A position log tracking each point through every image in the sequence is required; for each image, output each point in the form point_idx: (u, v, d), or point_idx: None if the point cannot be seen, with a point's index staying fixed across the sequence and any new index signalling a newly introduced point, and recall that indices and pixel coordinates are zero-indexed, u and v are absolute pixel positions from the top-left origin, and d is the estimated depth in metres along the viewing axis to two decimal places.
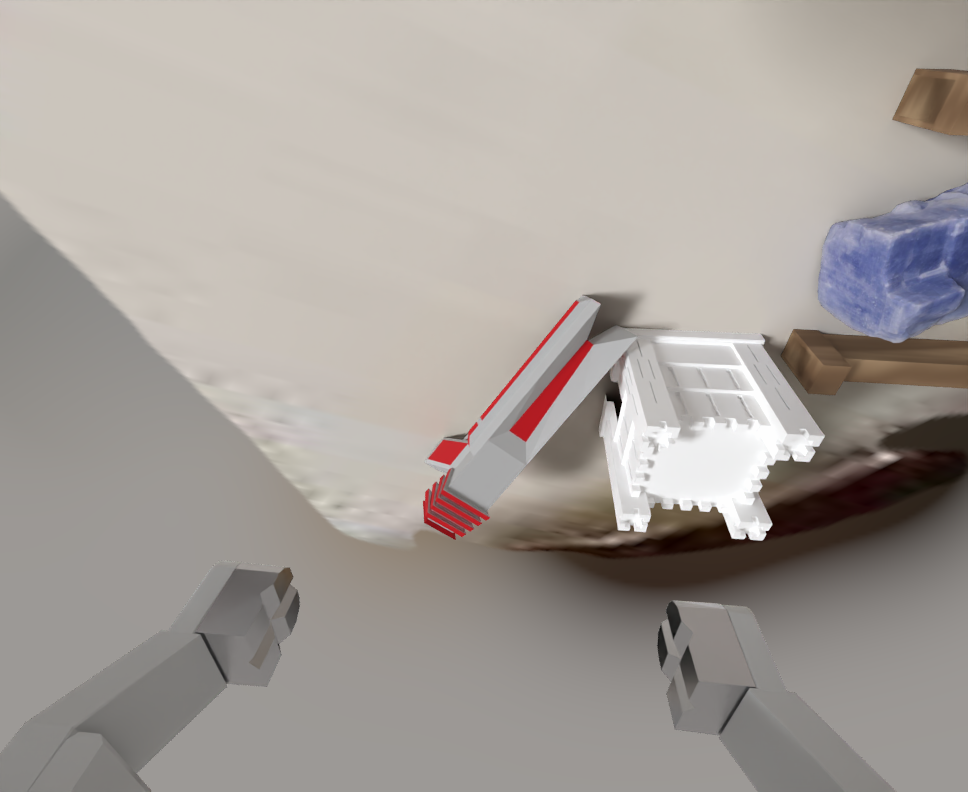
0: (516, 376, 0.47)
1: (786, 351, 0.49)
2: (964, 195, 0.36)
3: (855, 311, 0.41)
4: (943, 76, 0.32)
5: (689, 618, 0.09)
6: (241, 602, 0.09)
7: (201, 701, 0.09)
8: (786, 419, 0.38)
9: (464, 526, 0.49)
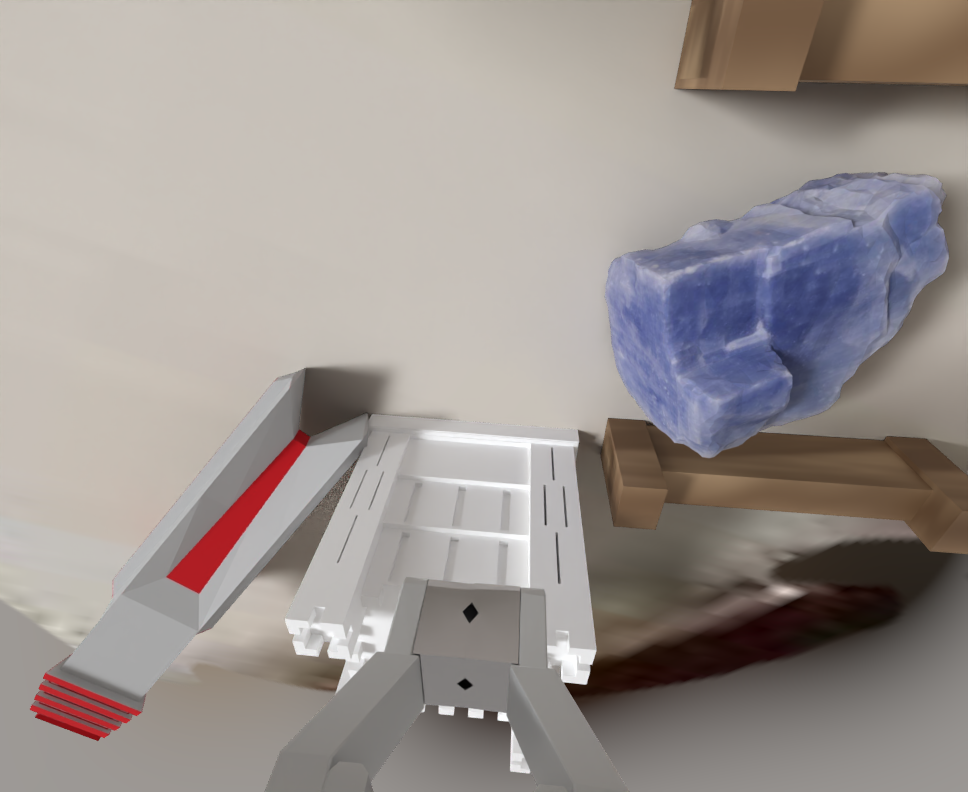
0: (185, 490, 0.30)
1: (603, 450, 0.32)
2: (785, 208, 0.20)
3: (650, 399, 0.25)
4: None
5: (481, 599, 0.09)
6: (447, 621, 0.09)
7: (407, 723, 0.09)
8: None
9: (102, 724, 0.31)
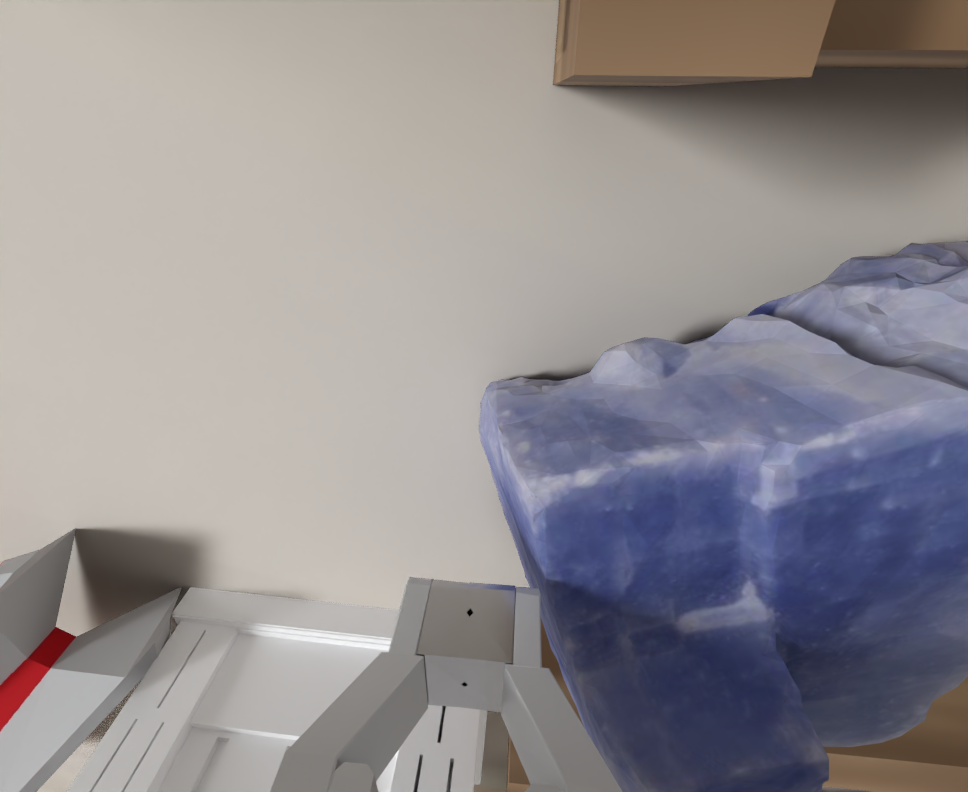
0: None
1: None
2: (802, 334, 0.09)
3: (552, 649, 0.13)
4: None
5: (475, 599, 0.09)
6: (451, 621, 0.09)
7: (412, 723, 0.09)
8: None
9: None
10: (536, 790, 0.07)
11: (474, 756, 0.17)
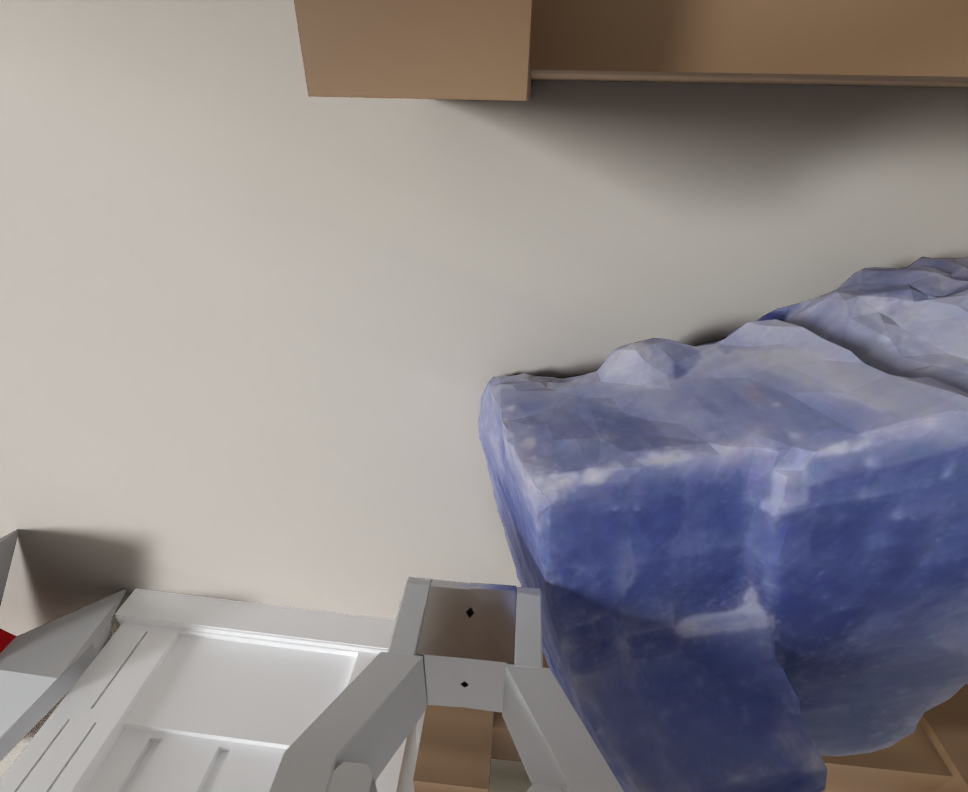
0: None
1: None
2: (815, 341, 0.09)
3: (543, 650, 0.13)
4: None
5: (477, 599, 0.09)
6: (450, 621, 0.09)
7: (411, 724, 0.09)
8: None
9: None
10: (538, 790, 0.07)
11: (401, 758, 0.17)
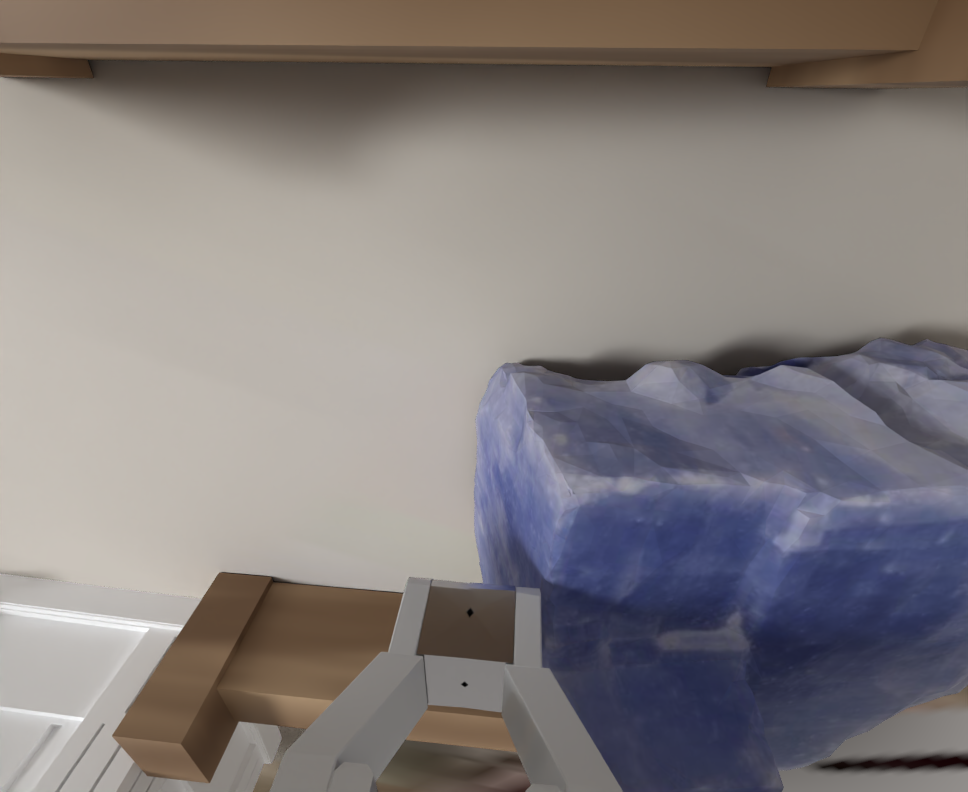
0: None
1: None
2: (844, 396, 0.10)
3: None
4: None
5: (476, 599, 0.09)
6: (451, 622, 0.09)
7: (411, 724, 0.09)
8: None
9: None
10: (537, 790, 0.07)
11: None
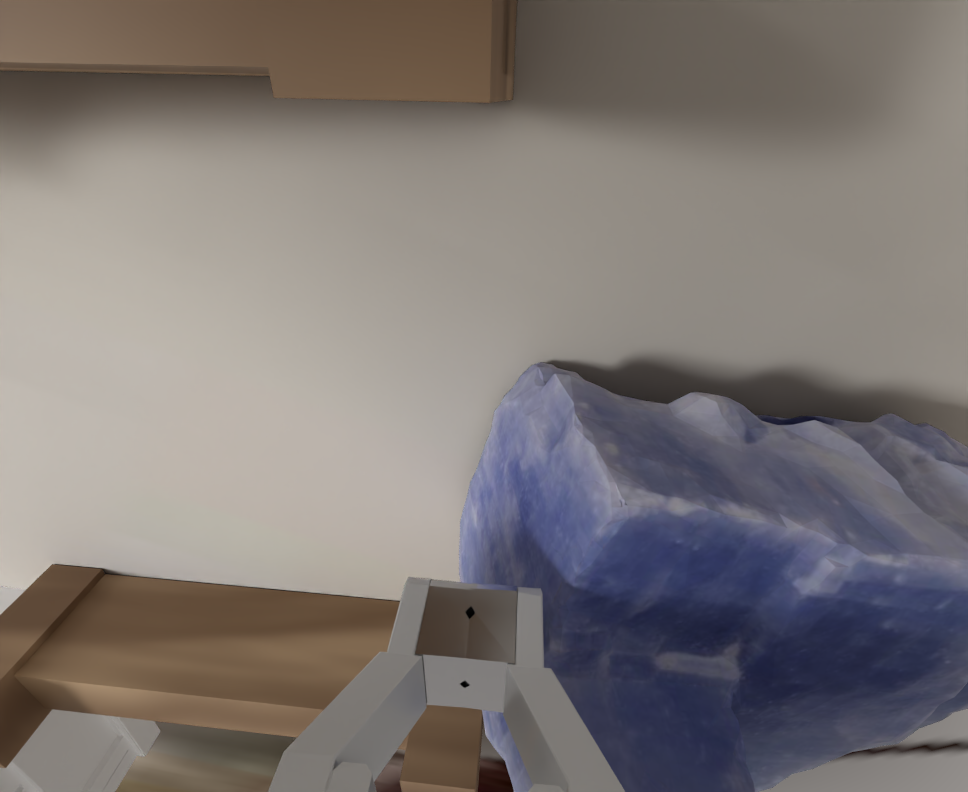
0: None
1: None
2: (869, 460, 0.10)
3: None
4: None
5: (477, 599, 0.09)
6: (449, 621, 0.09)
7: (410, 723, 0.09)
8: None
9: None
10: (539, 790, 0.07)
11: None
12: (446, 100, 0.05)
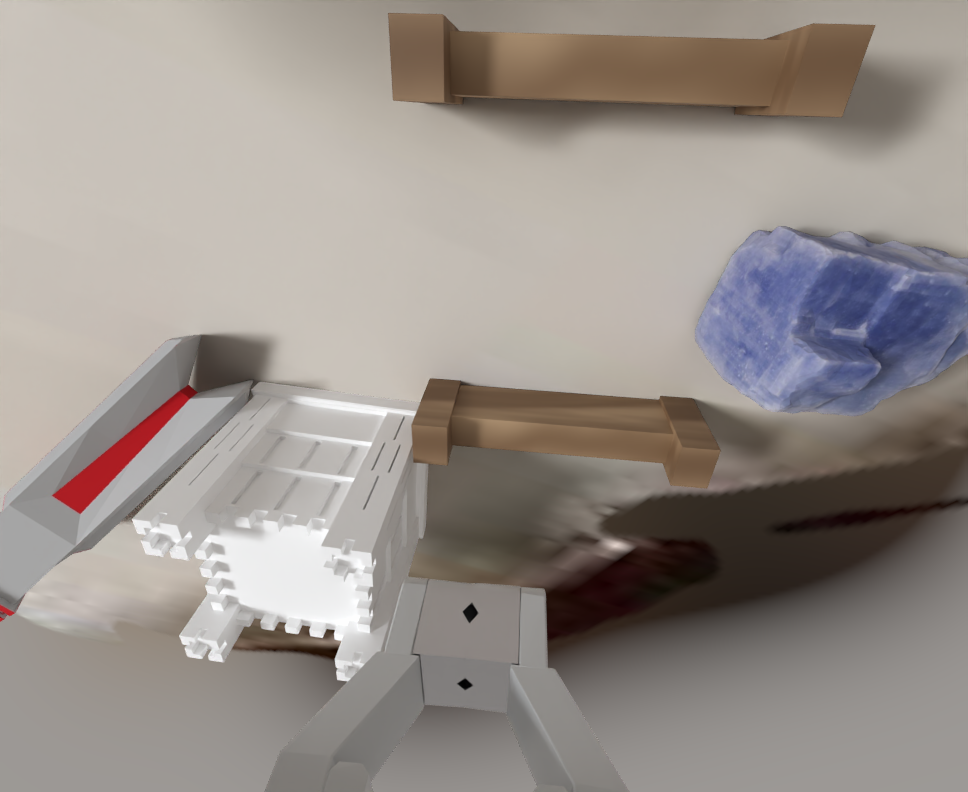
0: (79, 424, 0.35)
1: None
2: (917, 251, 0.26)
3: (736, 352, 0.29)
4: None
5: (481, 599, 0.09)
6: (447, 621, 0.09)
7: (407, 723, 0.09)
8: (344, 523, 0.27)
9: None
10: (543, 791, 0.07)
11: (411, 444, 0.34)
12: (831, 116, 0.21)
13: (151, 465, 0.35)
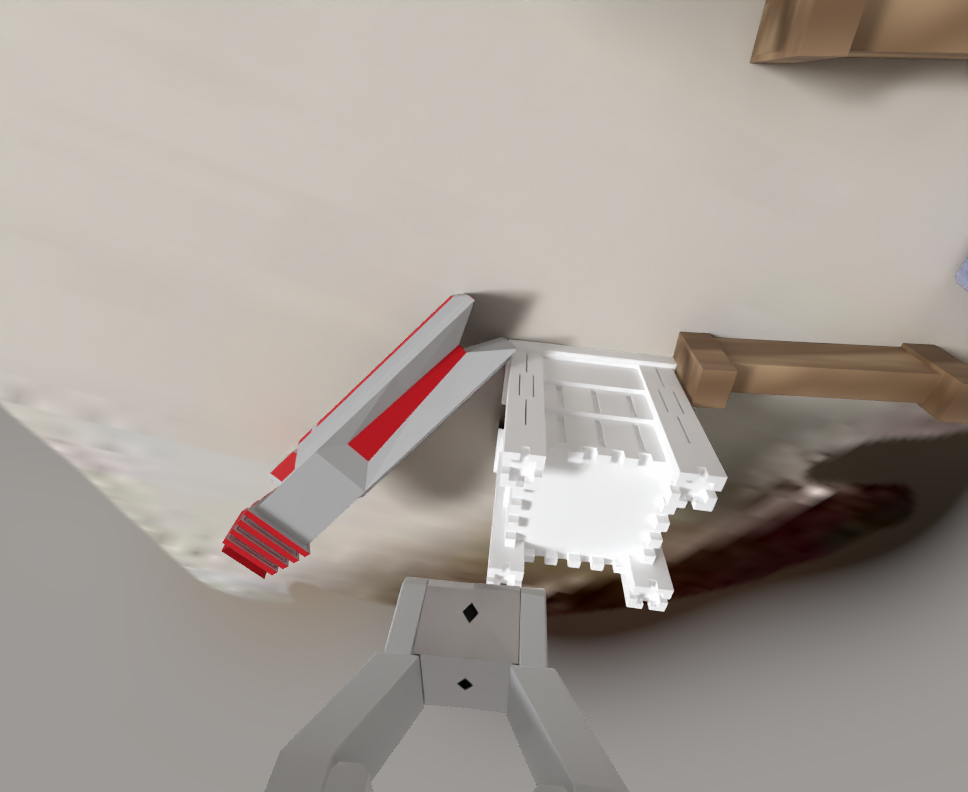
0: (367, 377, 0.37)
1: (675, 359, 0.40)
2: None
3: None
4: None
5: (481, 599, 0.09)
6: (447, 621, 0.09)
7: (407, 723, 0.09)
8: (683, 454, 0.30)
9: (275, 561, 0.38)
10: (543, 791, 0.07)
11: (682, 391, 0.37)
12: None
13: (436, 414, 0.37)
